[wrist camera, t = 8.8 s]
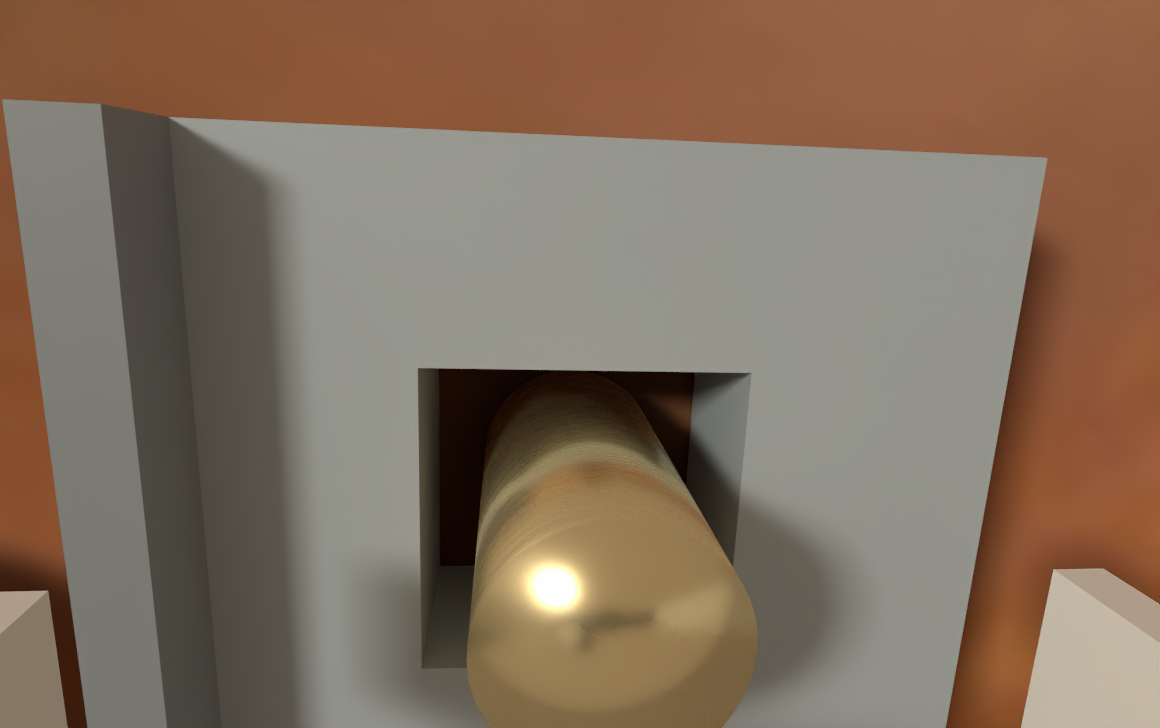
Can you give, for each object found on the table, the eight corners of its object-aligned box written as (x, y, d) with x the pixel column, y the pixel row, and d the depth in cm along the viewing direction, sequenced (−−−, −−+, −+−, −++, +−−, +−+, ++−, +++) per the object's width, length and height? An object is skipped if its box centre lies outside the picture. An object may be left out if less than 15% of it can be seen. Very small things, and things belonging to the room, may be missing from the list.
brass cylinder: (485, 529, 18) (468, 787, 10) (484, 370, 17) (463, 524, 9) (647, 524, 19) (746, 771, 11) (654, 369, 18) (768, 517, 10)
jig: (239, 712, 19) (117, 951, 13) (193, 130, 15) (1, 98, 10) (849, 694, 20) (986, 899, 14) (924, 163, 17) (1141, 153, 11)
